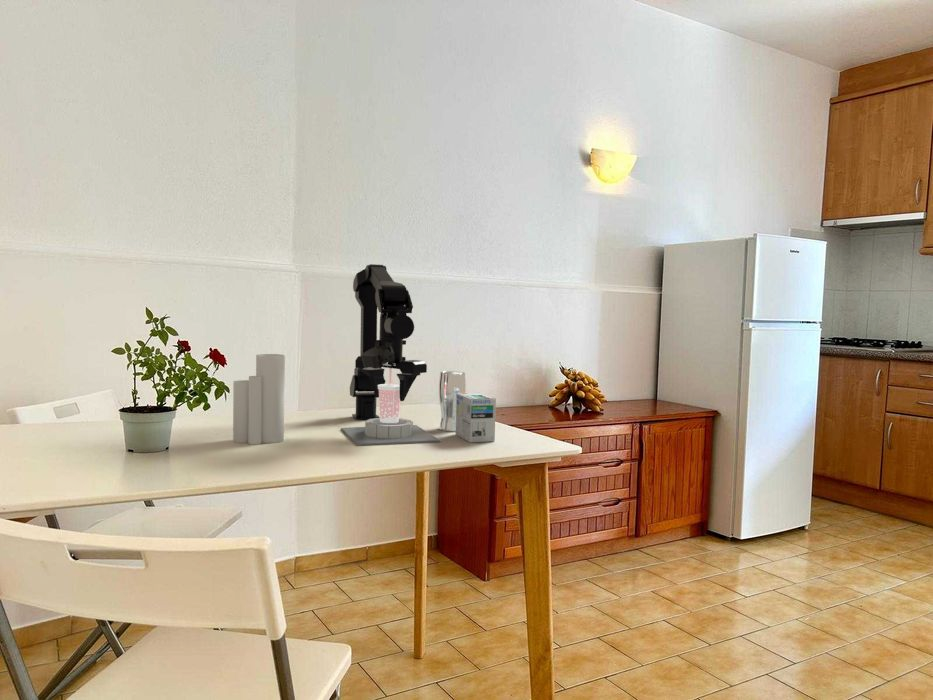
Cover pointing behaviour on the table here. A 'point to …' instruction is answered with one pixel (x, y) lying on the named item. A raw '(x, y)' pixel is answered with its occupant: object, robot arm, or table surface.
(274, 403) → the vase
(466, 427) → the light bulb box
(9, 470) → the table surface
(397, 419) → the beverage cup
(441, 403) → the beer glass
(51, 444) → the table surface
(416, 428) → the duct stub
